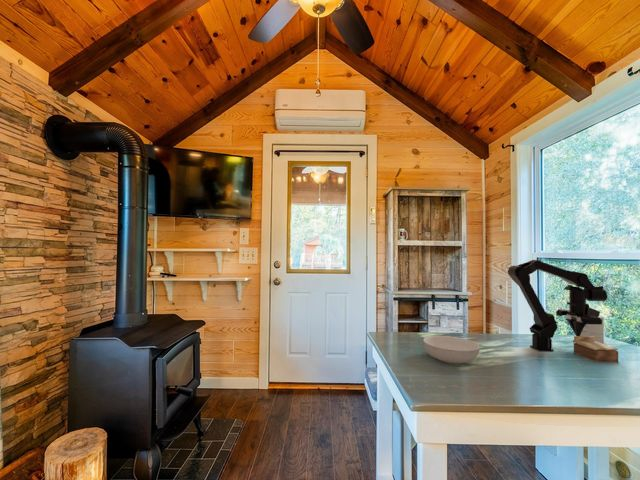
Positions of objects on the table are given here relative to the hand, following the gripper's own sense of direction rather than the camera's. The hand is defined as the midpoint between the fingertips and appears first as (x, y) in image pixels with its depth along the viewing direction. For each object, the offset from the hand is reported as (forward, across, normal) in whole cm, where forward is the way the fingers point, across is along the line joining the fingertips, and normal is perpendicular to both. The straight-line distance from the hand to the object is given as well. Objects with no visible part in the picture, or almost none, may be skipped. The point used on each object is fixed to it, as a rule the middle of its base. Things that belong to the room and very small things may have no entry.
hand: (577, 336), depth 142 cm
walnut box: (+6, -9, 0) cm, 11 cm away
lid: (+2, -8, 0) cm, 9 cm away
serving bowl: (+7, -14, +62) cm, 64 cm away
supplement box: (+7, +16, -19) cm, 25 cm away
